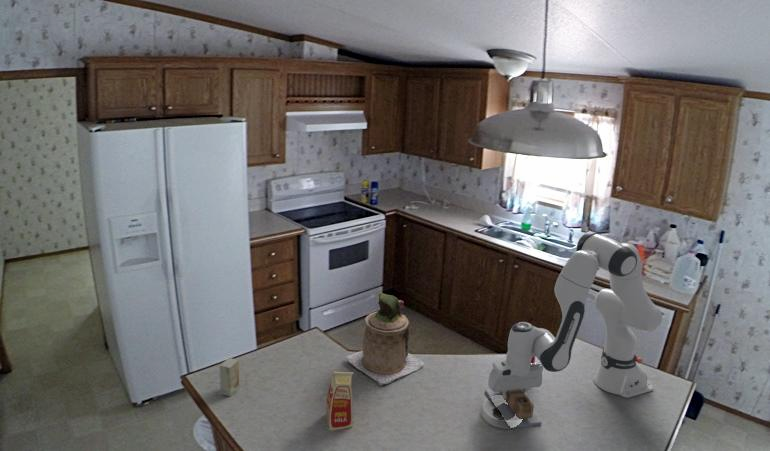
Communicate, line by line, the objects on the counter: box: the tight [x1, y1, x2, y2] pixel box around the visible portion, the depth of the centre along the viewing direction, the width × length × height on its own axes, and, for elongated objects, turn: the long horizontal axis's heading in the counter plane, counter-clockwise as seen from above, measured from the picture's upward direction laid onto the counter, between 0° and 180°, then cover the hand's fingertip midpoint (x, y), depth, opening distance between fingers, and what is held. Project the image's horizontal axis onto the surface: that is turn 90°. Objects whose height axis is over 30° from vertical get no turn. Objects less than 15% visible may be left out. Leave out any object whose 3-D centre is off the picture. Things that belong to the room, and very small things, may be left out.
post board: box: [484, 388, 542, 429], centre depth 200 cm, size 12×22×7 cm, turn 13°
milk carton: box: [325, 371, 355, 431], centre depth 187 cm, size 9×9×20 cm
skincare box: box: [219, 357, 240, 397], centre depth 201 cm, size 6×4×12 cm
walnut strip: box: [499, 389, 535, 419], centre depth 200 cm, size 20×5×5 cm, turn 14°
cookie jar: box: [345, 292, 425, 386], centre depth 221 cm, size 25×25×32 cm
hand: (513, 397), depth 200 cm, fingers closed on walnut strip, 5 cm apart
